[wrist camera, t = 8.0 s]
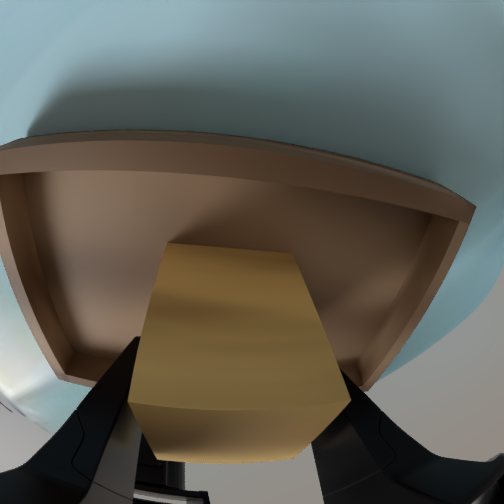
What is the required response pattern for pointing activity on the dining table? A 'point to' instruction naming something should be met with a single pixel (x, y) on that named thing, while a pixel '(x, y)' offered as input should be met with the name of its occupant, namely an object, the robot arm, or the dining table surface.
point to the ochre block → (233, 359)
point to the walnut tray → (216, 236)
